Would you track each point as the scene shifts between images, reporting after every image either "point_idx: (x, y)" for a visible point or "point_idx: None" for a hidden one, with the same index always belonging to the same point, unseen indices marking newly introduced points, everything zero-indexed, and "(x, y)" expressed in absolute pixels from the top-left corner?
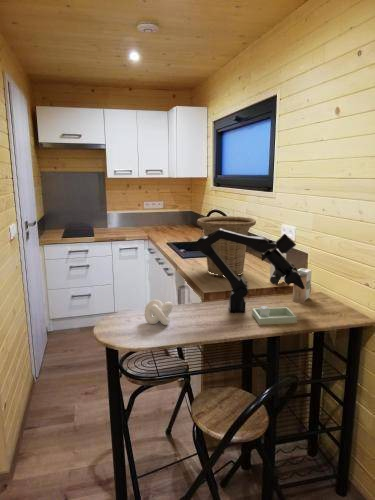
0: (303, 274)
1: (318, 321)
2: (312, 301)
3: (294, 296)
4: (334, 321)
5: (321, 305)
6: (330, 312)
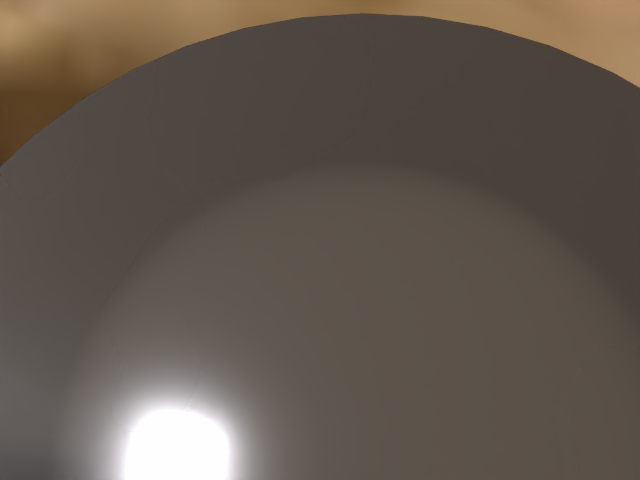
0: (480, 294)
1: None
2: (4, 86)
3: None
4: (599, 41)
5: (130, 31)
6: (336, 3)
